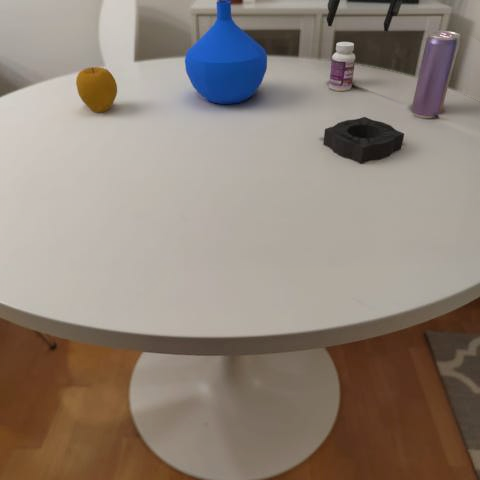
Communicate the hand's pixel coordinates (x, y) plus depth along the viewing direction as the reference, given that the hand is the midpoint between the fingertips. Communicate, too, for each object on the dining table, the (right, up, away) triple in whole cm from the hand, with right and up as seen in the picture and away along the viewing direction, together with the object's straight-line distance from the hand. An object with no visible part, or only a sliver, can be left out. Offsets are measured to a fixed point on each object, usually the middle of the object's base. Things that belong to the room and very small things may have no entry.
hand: (356, 25), depth 106 cm
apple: (-58, -21, -4) cm, 62 cm away
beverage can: (+12, -25, -10) cm, 29 cm away
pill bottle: (-3, -13, +3) cm, 14 cm away
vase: (-30, -17, 0) cm, 34 cm away
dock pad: (-5, -35, -22) cm, 42 cm away
